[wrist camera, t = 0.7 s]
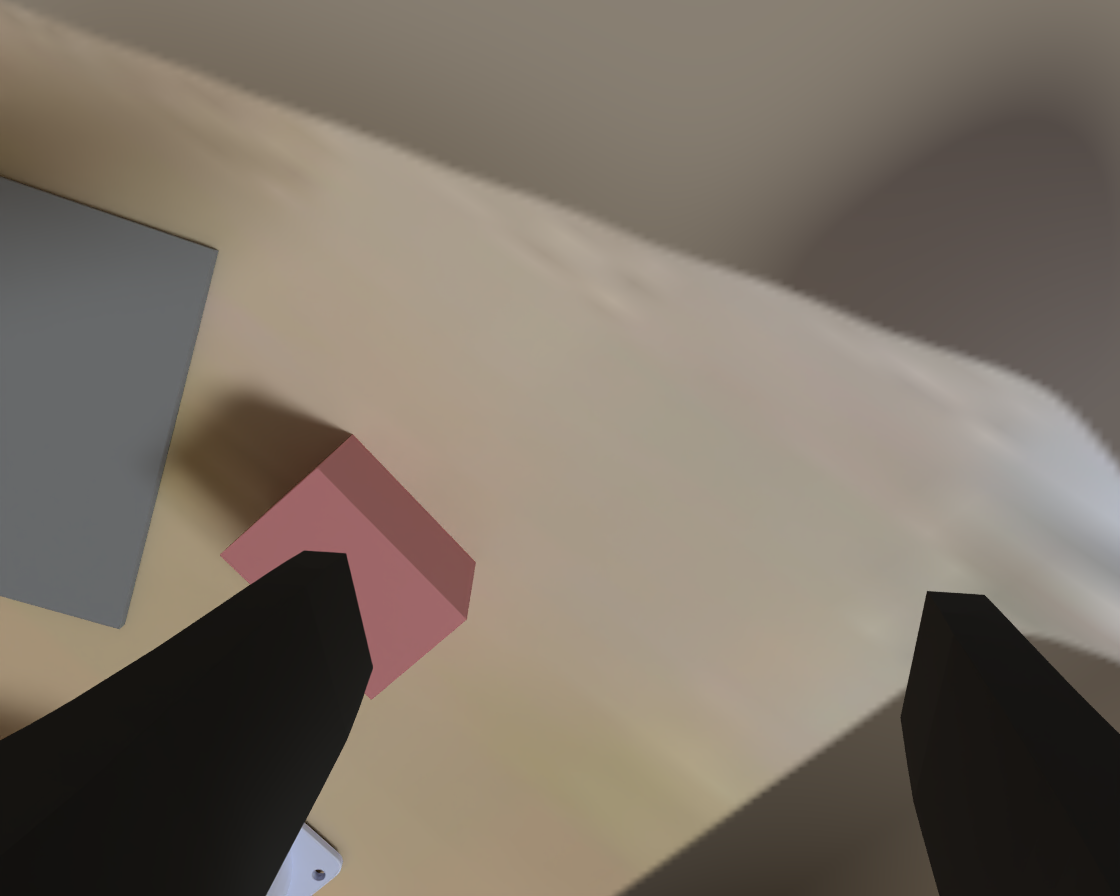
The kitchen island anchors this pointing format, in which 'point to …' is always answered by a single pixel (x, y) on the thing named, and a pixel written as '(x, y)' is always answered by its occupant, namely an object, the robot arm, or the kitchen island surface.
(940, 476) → the kitchen island surface
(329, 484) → the card box
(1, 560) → the mat
